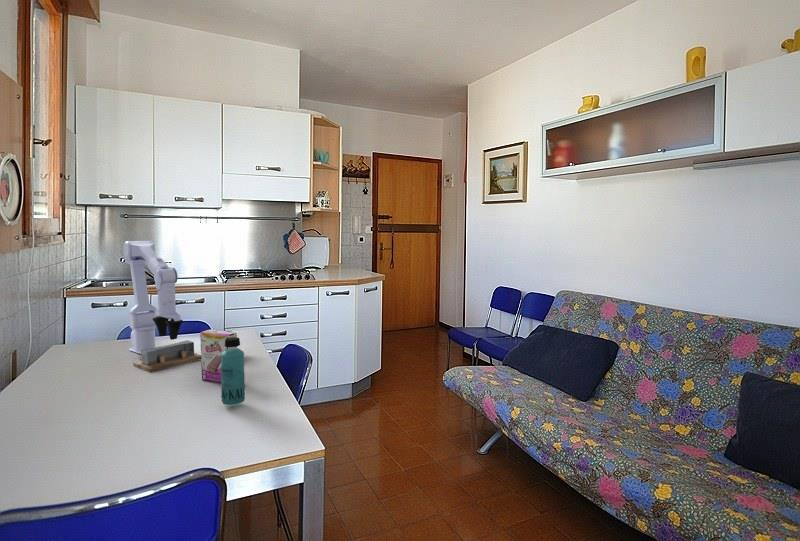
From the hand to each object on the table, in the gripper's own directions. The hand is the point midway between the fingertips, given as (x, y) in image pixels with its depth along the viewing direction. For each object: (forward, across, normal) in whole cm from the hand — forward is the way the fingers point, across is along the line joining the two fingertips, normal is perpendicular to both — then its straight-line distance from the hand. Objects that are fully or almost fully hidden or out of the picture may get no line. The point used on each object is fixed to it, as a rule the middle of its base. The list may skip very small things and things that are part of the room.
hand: (168, 337), depth 172 cm
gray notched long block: (+8, 0, 0) cm, 8 cm away
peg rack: (+9, 0, 0) cm, 9 cm away
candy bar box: (+10, +32, 0) cm, 33 cm away
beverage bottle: (+9, +54, -10) cm, 56 cm away
